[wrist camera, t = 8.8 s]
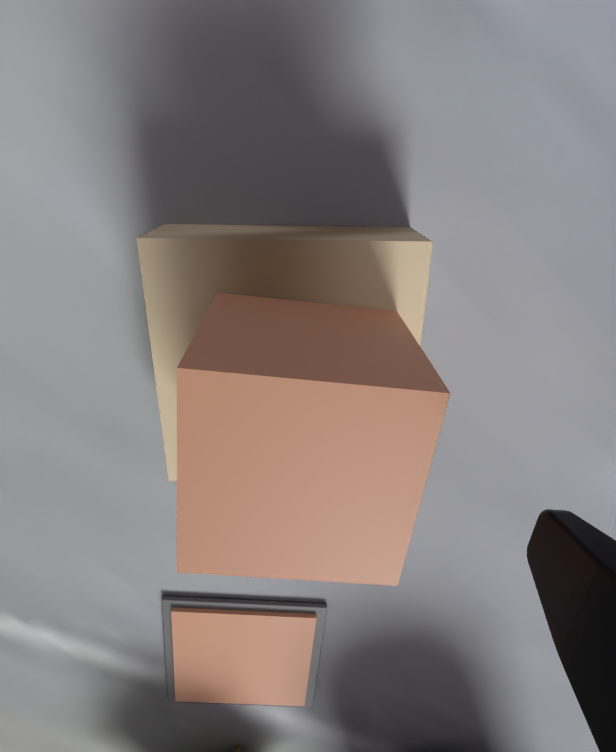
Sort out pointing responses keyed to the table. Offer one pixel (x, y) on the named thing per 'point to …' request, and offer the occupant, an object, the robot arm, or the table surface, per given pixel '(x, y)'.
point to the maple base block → (269, 282)
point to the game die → (237, 749)
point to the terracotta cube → (302, 441)
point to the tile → (242, 650)
